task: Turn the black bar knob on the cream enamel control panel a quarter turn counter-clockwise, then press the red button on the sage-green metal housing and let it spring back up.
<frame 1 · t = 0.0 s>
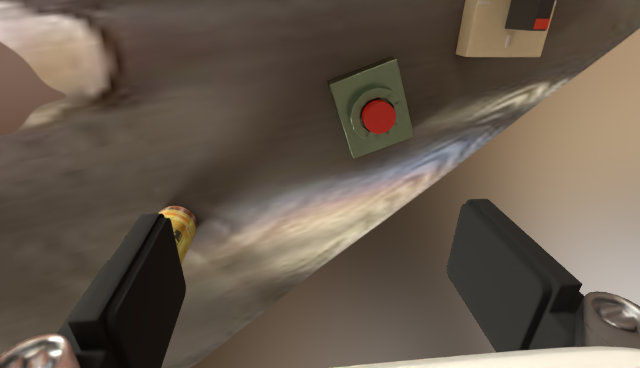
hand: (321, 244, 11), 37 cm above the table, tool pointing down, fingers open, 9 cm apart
red button: (378, 116, 43), point 5 cm above the table, slide at 0.2 cm
sauce bottle: (176, 219, 52), on the table
control panel: (502, 3, 43), on the table
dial: (532, 2, 38), point 6 cm above the table, hinge at 0.0°
button housing: (370, 107, 47), on the table
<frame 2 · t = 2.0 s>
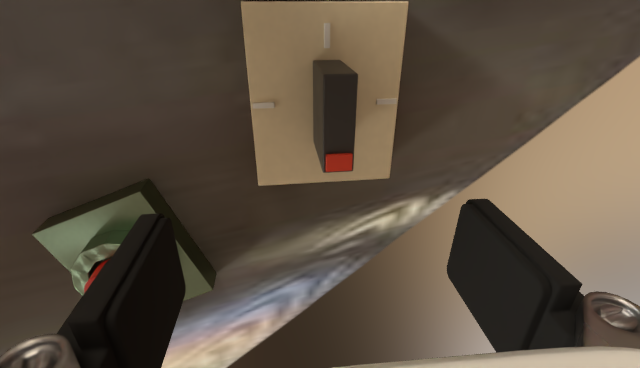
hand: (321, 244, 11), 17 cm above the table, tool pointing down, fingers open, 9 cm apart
red button: (118, 285, 26), point 5 cm above the table, slide at 0.2 cm
control panel: (320, 92, 25), on the table
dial: (332, 114, 20), point 6 cm above the table, hinge at 0.0°
button housing: (139, 247, 30), on the table
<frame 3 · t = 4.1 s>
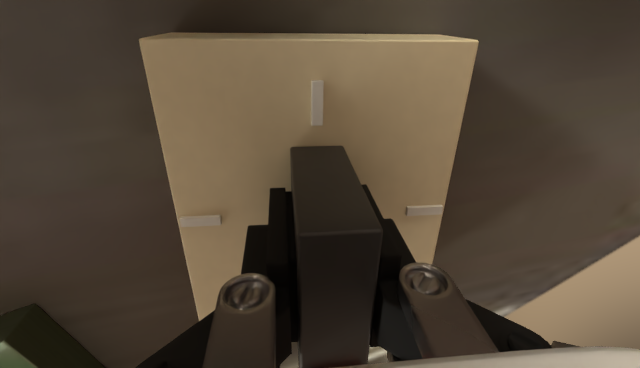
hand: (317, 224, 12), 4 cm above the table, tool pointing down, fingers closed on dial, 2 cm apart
control panel: (309, 178, 15), on the table
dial: (324, 261, 10), point 6 cm above the table, hinge at 0.0°, touching gripper
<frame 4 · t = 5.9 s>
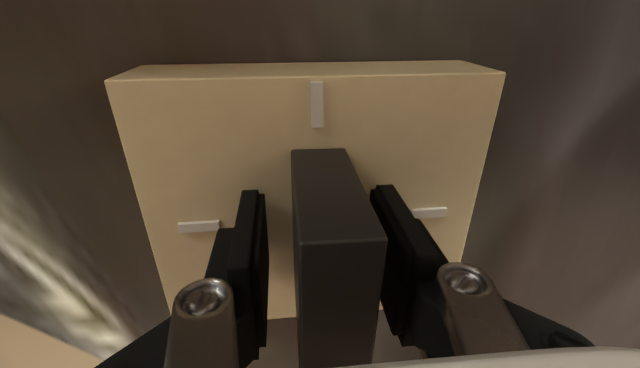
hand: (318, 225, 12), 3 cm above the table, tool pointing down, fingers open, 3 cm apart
control panel: (310, 181, 15), on the table
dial: (326, 267, 10), point 6 cm above the table, hinge at 89.2°
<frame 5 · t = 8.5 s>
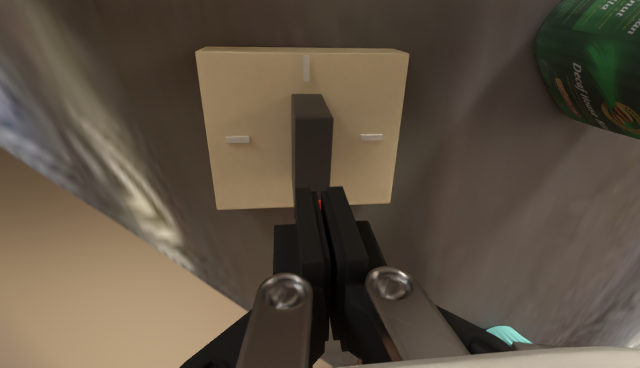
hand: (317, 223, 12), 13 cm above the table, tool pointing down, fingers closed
coffee jar: (586, 50, 24), on the table
control panel: (302, 123, 24), on the table
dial: (309, 154, 19), point 6 cm above the table, hinge at 89.2°
cupcake: (492, 339, 37), on the table
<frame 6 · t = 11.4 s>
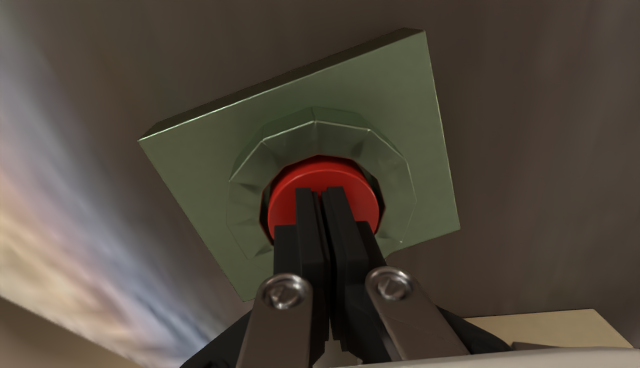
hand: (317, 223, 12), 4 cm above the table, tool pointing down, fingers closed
red button: (321, 207, 13), point 4 cm above the table, slide at -0.8 cm, touching gripper
control panel: (491, 363, 24), on the table
button housing: (313, 168, 16), on the table
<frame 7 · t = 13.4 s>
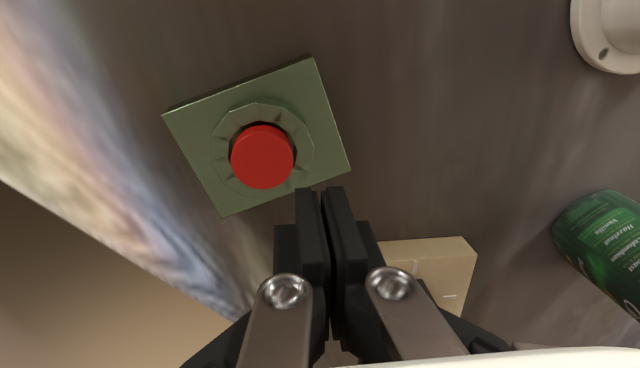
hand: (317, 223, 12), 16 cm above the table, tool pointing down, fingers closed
red button: (262, 157, 22), point 5 cm above the table, slide at 0.1 cm
coffee jar: (584, 226, 36), on the table
control panel: (398, 278, 35), on the table
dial: (419, 322, 30), point 6 cm above the table, hinge at 89.2°
button housing: (263, 135, 26), on the table
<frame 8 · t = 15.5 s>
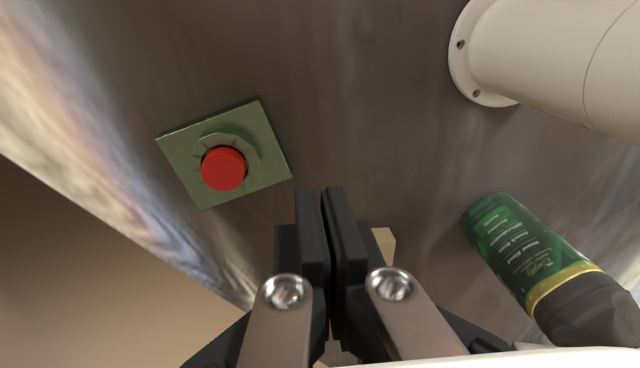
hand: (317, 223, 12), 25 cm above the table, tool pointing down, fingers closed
red button: (223, 169, 33), point 5 cm above the table, slide at 0.1 cm
coffee jar: (490, 220, 45), on the table
control panel: (341, 260, 45), on the table
button housing: (229, 151, 37), on the table
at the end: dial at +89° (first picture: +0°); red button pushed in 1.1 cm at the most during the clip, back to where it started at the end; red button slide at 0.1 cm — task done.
